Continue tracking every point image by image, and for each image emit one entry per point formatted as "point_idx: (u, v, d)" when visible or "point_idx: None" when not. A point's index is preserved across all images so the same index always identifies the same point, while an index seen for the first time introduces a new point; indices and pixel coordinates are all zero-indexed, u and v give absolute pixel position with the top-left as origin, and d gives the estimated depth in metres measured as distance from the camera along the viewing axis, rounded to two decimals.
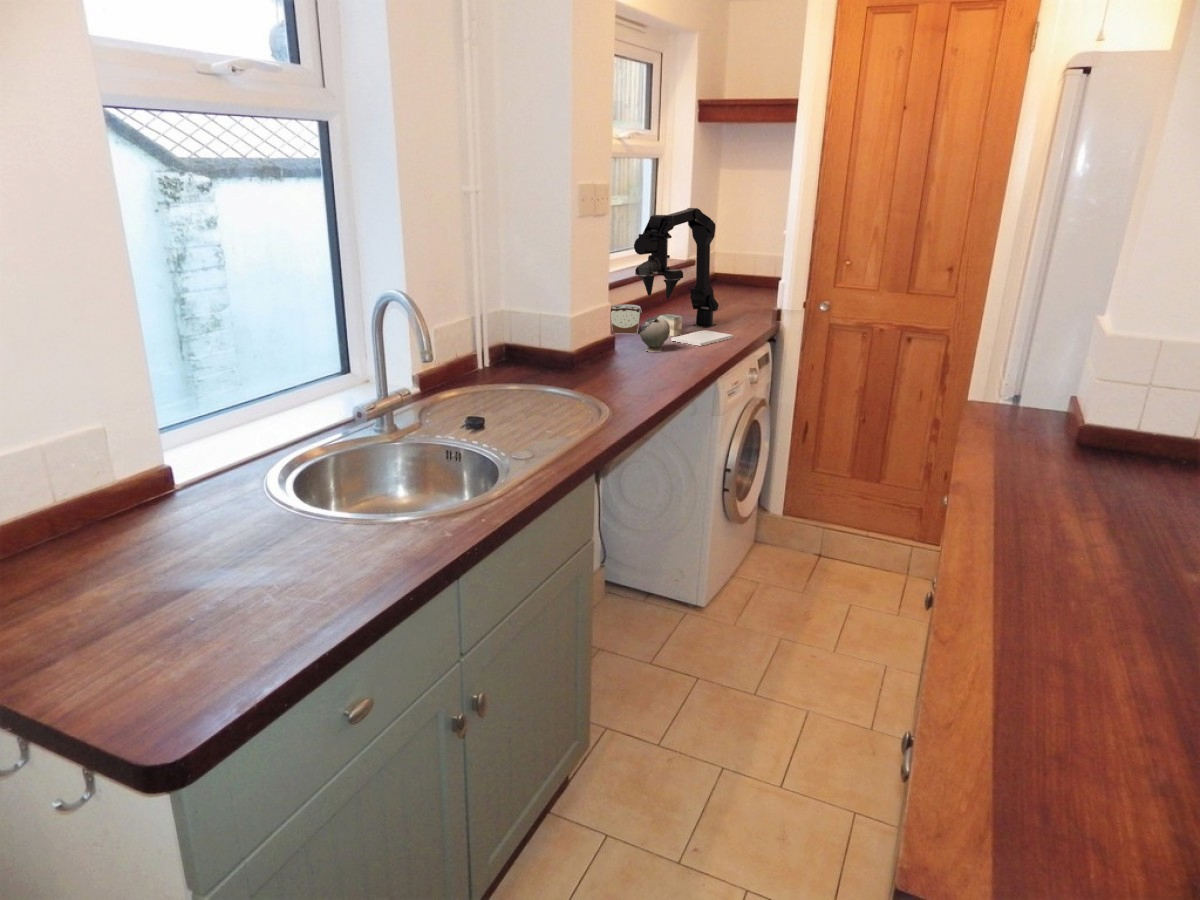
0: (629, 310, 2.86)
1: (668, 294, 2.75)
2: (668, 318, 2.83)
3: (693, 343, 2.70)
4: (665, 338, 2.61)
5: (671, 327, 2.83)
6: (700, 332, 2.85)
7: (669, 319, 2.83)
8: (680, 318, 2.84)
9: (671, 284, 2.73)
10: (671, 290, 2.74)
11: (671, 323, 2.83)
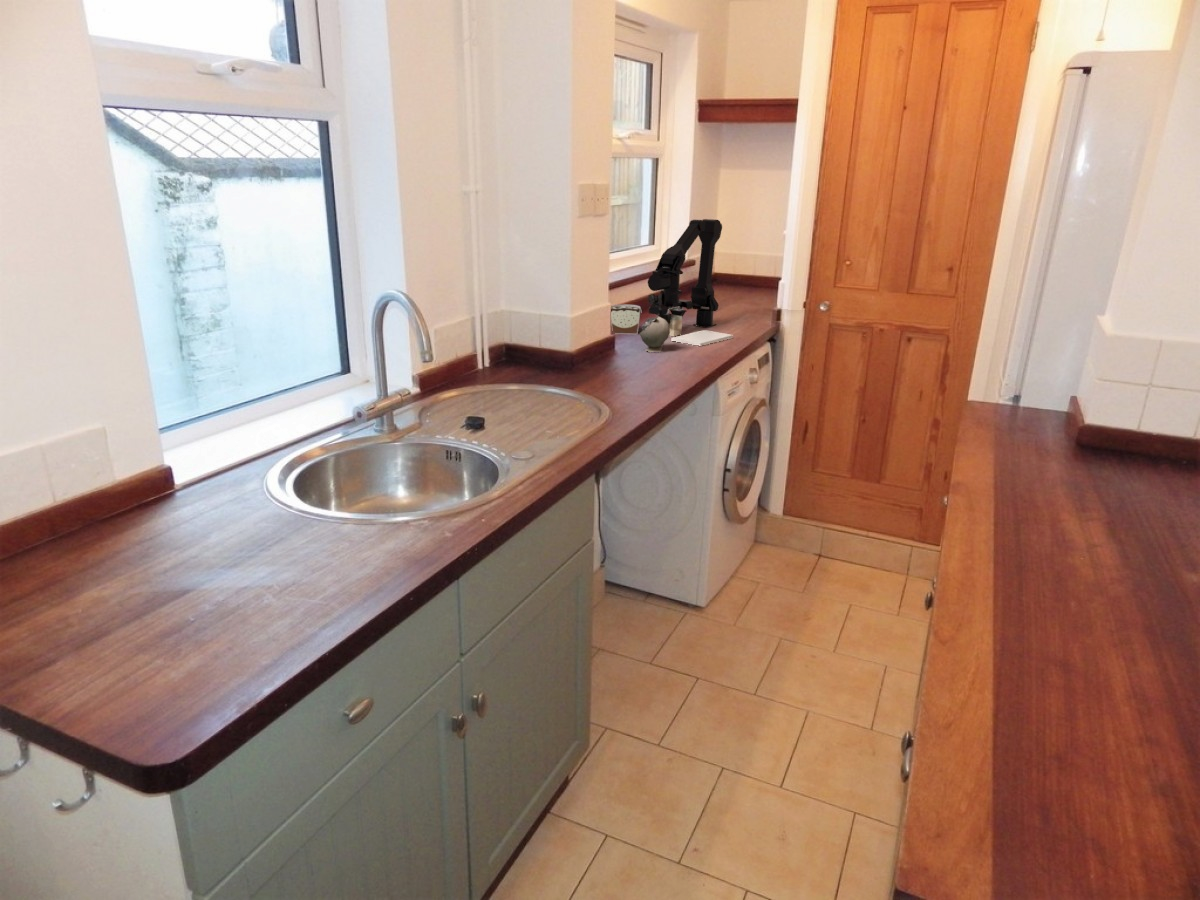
0: (629, 310, 2.86)
1: None
2: None
3: (693, 343, 2.70)
4: (665, 338, 2.61)
5: (671, 327, 2.83)
6: (700, 332, 2.85)
7: None
8: (680, 318, 2.84)
9: (665, 318, 2.82)
10: None
11: (671, 323, 2.83)
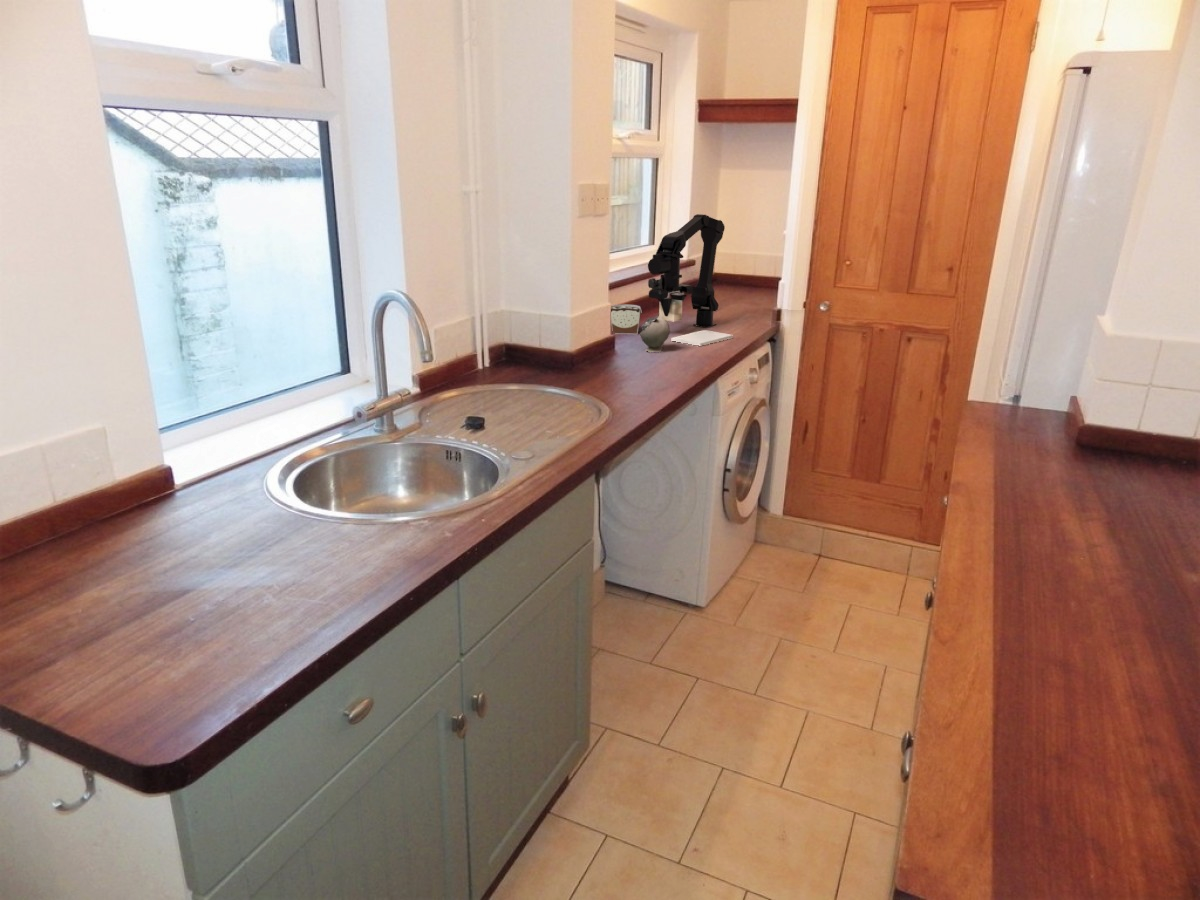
0: (629, 310, 2.86)
1: (664, 312, 2.82)
2: None
3: (693, 343, 2.70)
4: (665, 338, 2.61)
5: (671, 311, 2.81)
6: (700, 332, 2.85)
7: None
8: (680, 302, 2.82)
9: (665, 302, 2.80)
10: (666, 308, 2.81)
11: (671, 307, 2.81)
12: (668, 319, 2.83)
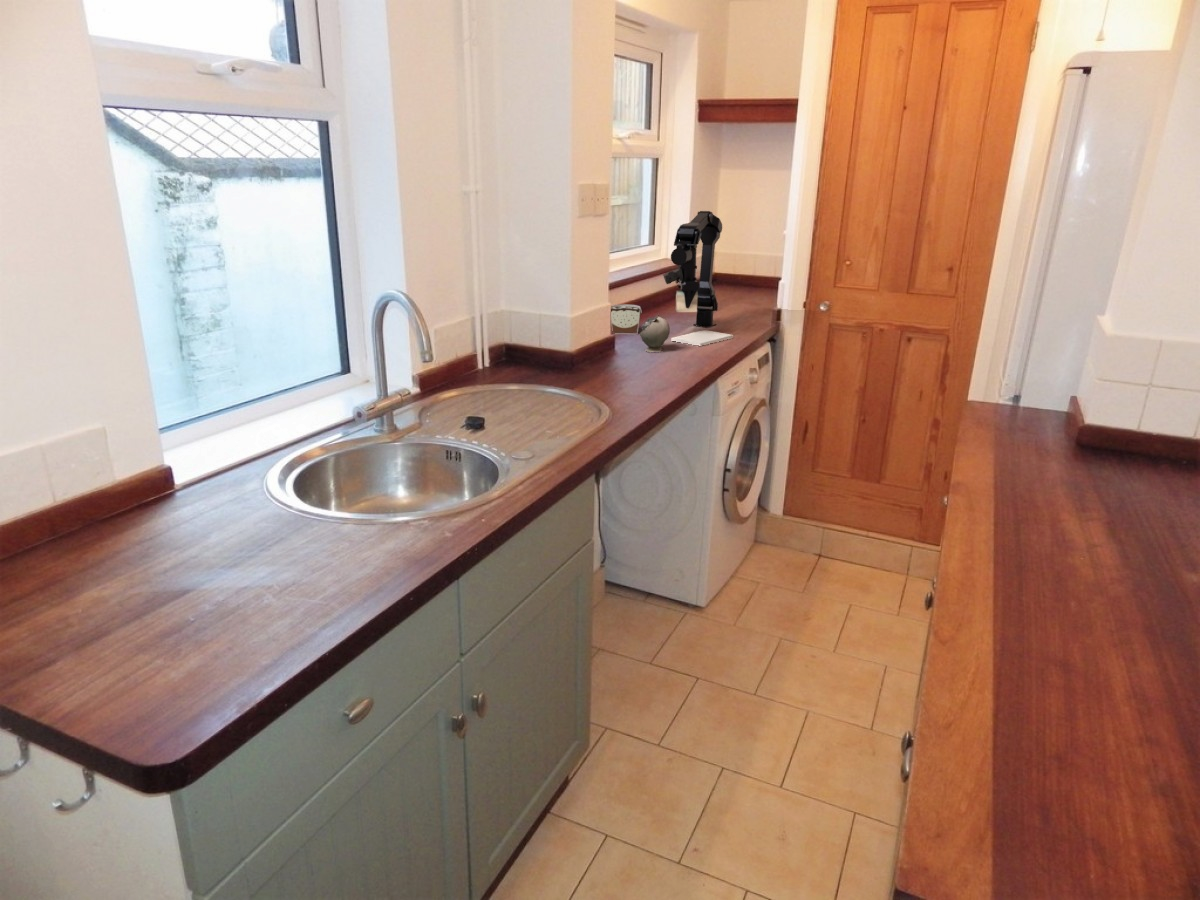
0: (629, 310, 2.86)
1: (687, 304, 2.76)
2: None
3: (693, 343, 2.70)
4: (665, 338, 2.61)
5: (694, 302, 2.76)
6: (700, 332, 2.85)
7: None
8: None
9: (689, 294, 2.74)
10: (690, 300, 2.75)
11: (694, 298, 2.76)
12: (689, 310, 2.77)
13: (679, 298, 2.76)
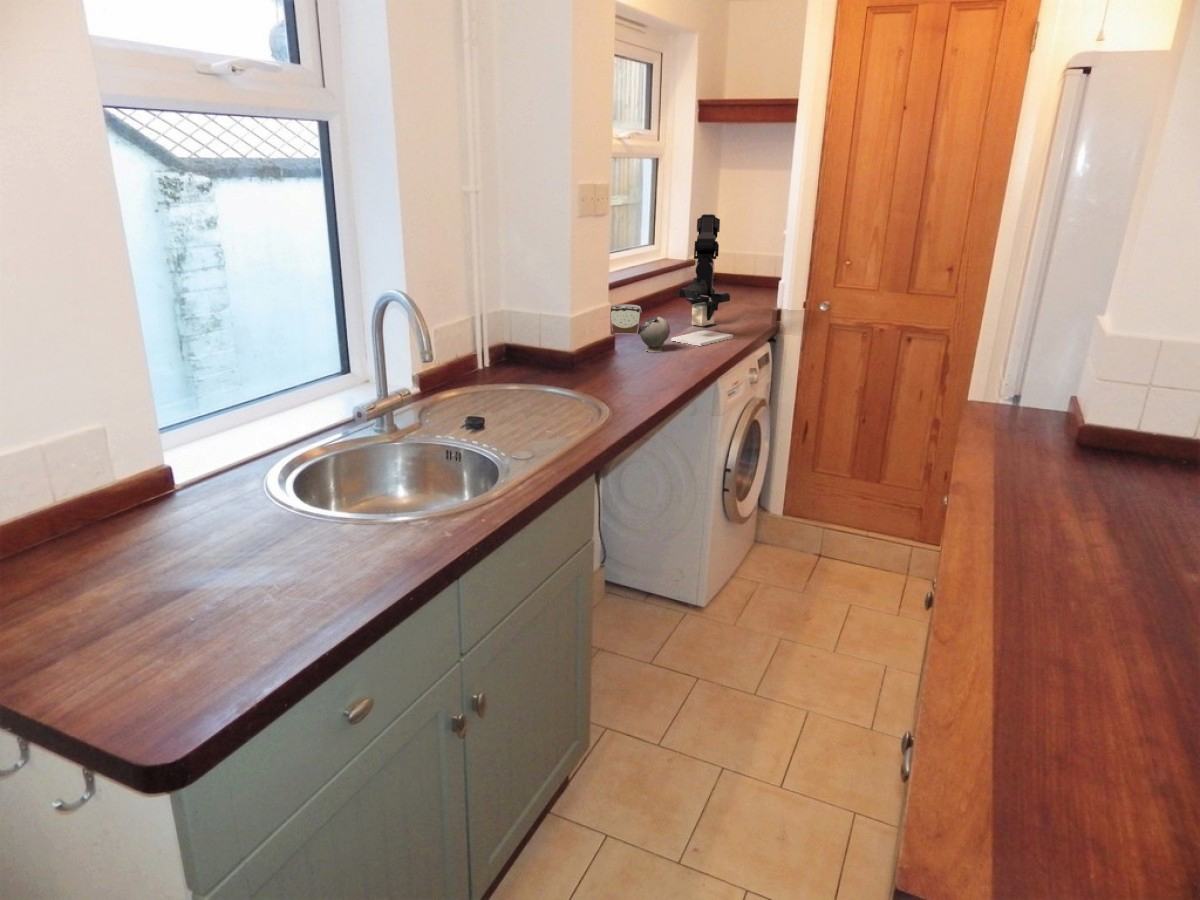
0: (629, 310, 2.86)
1: (709, 316, 2.74)
2: None
3: (693, 343, 2.70)
4: (665, 338, 2.61)
5: None
6: (700, 332, 2.85)
7: None
8: None
9: (712, 306, 2.72)
10: (712, 312, 2.73)
11: None
12: (709, 323, 2.76)
13: (703, 312, 2.72)
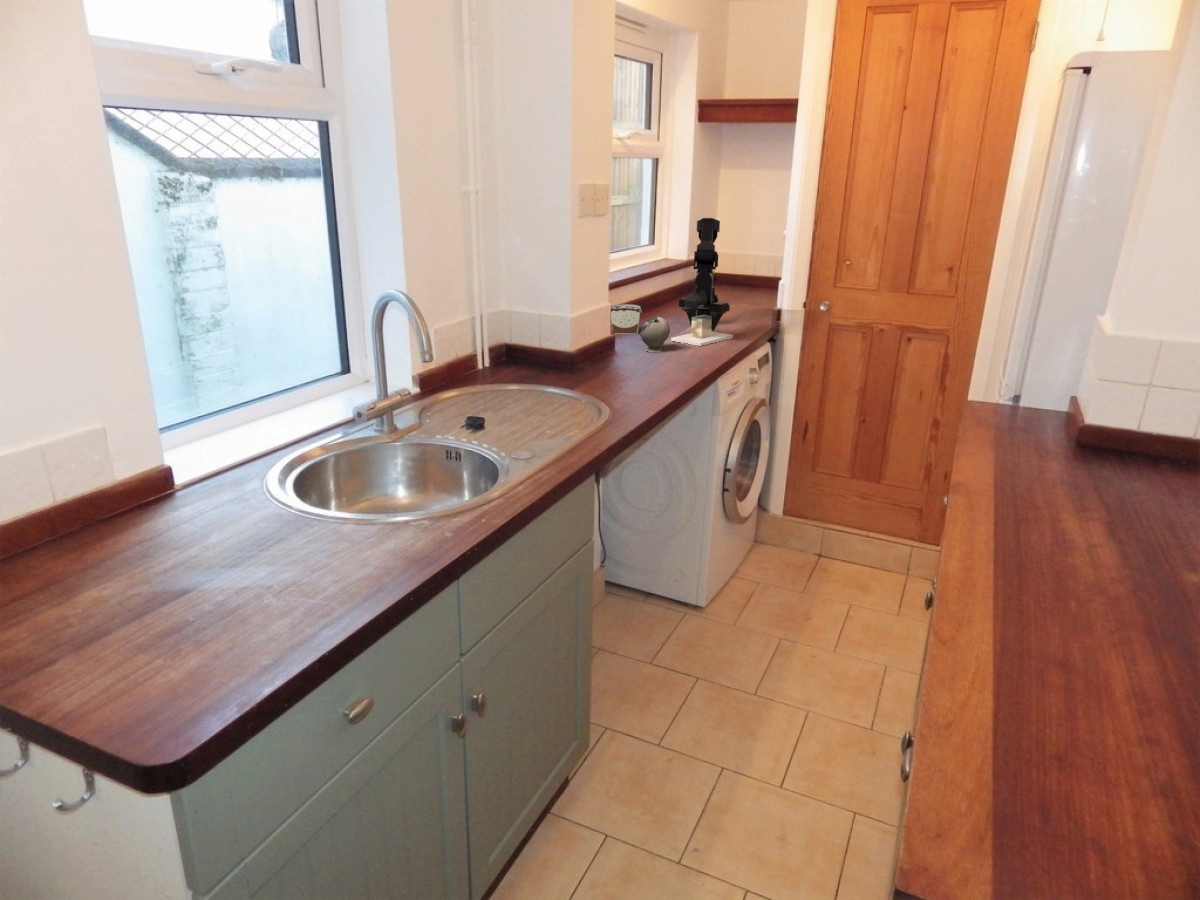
0: (629, 310, 2.86)
1: (714, 327, 2.73)
2: (709, 318, 2.75)
3: (693, 343, 2.70)
4: (665, 338, 2.61)
5: None
6: None
7: (710, 319, 2.76)
8: None
9: (716, 317, 2.72)
10: (716, 322, 2.73)
11: None
12: (709, 335, 2.77)
13: (702, 324, 2.73)
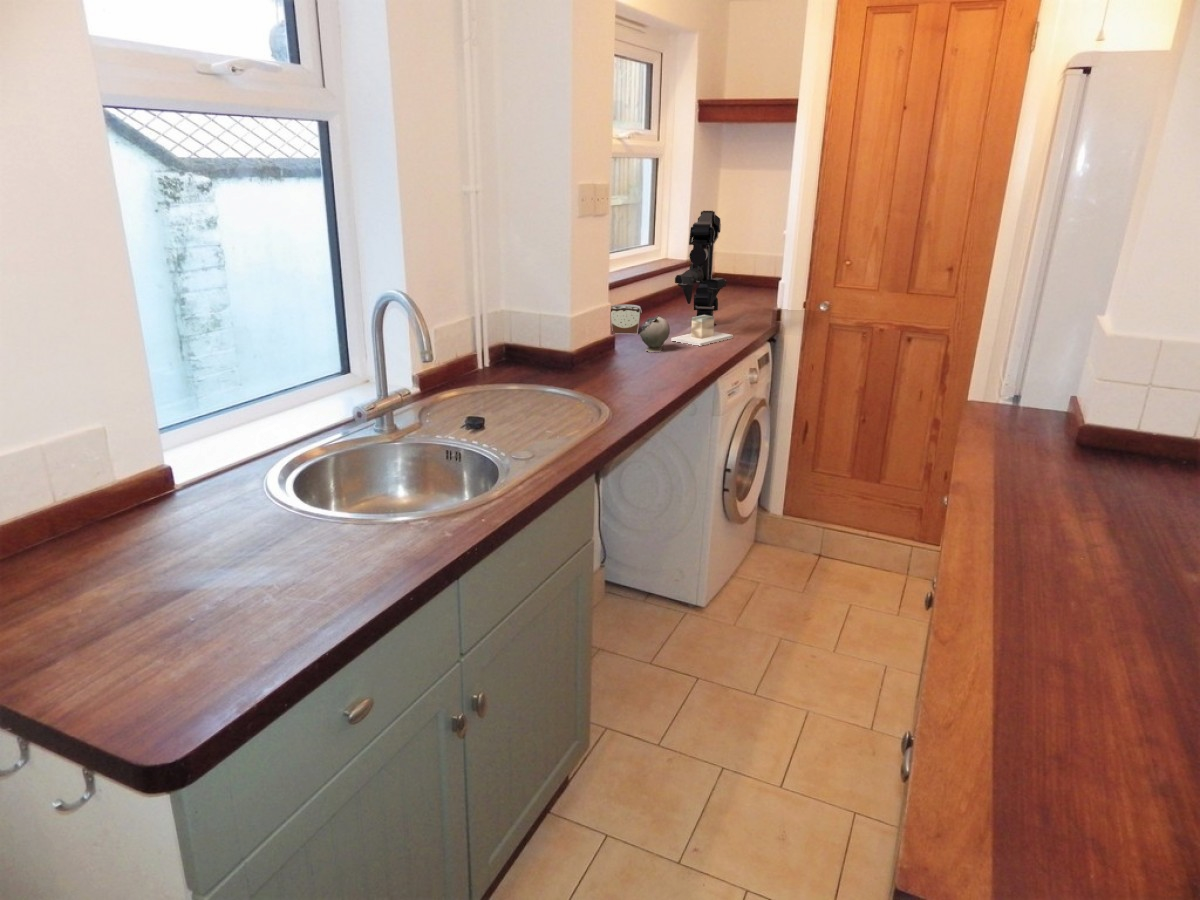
0: (629, 310, 2.86)
1: (710, 303, 2.74)
2: (709, 318, 2.75)
3: (693, 343, 2.70)
4: (665, 338, 2.61)
5: (711, 326, 2.77)
6: None
7: (710, 319, 2.76)
8: None
9: (713, 292, 2.73)
10: (713, 298, 2.74)
11: (711, 322, 2.77)
12: (709, 335, 2.77)
13: (702, 324, 2.73)
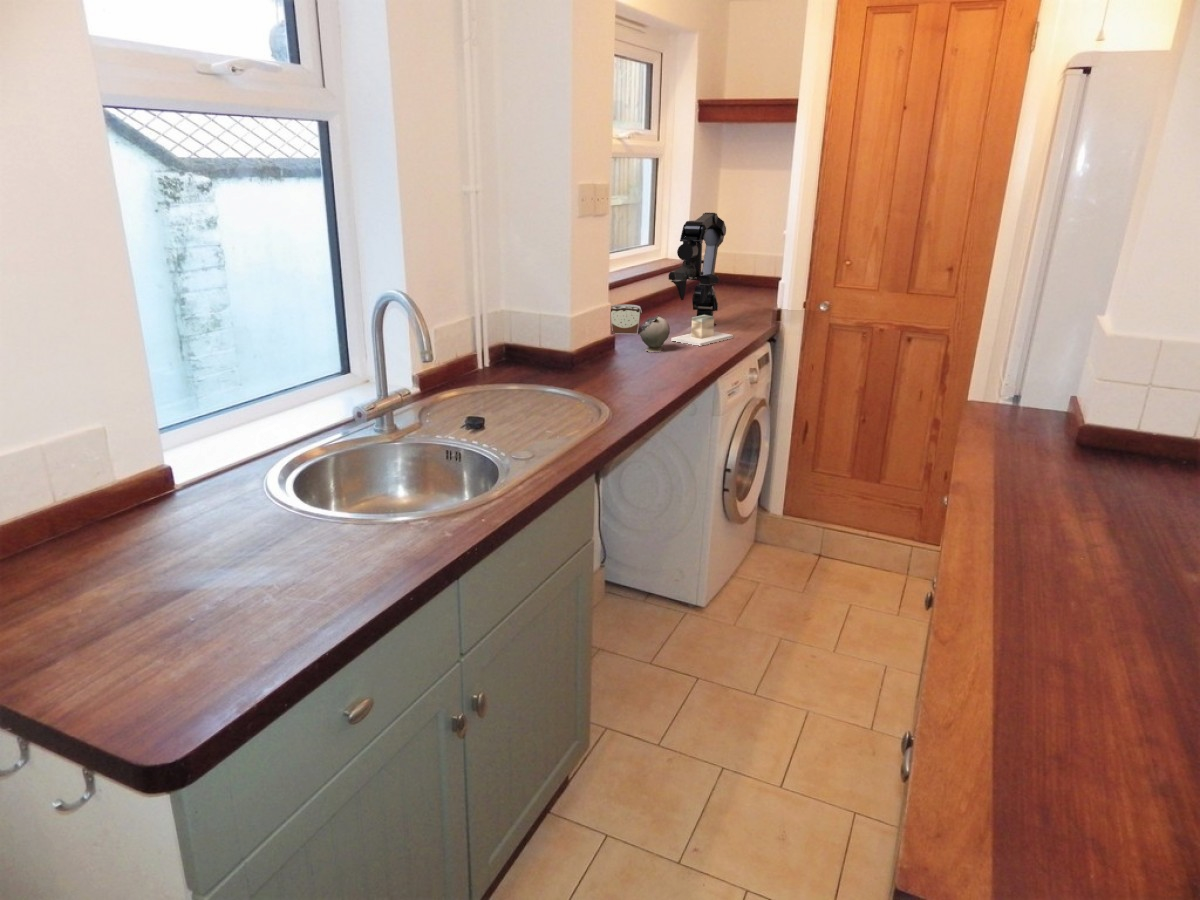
0: (629, 310, 2.86)
1: (703, 299, 2.80)
2: (709, 318, 2.75)
3: (693, 343, 2.70)
4: (665, 338, 2.61)
5: (711, 326, 2.77)
6: None
7: (710, 319, 2.76)
8: None
9: (706, 289, 2.79)
10: (706, 294, 2.80)
11: (711, 322, 2.77)
12: (709, 335, 2.77)
13: (702, 324, 2.73)
